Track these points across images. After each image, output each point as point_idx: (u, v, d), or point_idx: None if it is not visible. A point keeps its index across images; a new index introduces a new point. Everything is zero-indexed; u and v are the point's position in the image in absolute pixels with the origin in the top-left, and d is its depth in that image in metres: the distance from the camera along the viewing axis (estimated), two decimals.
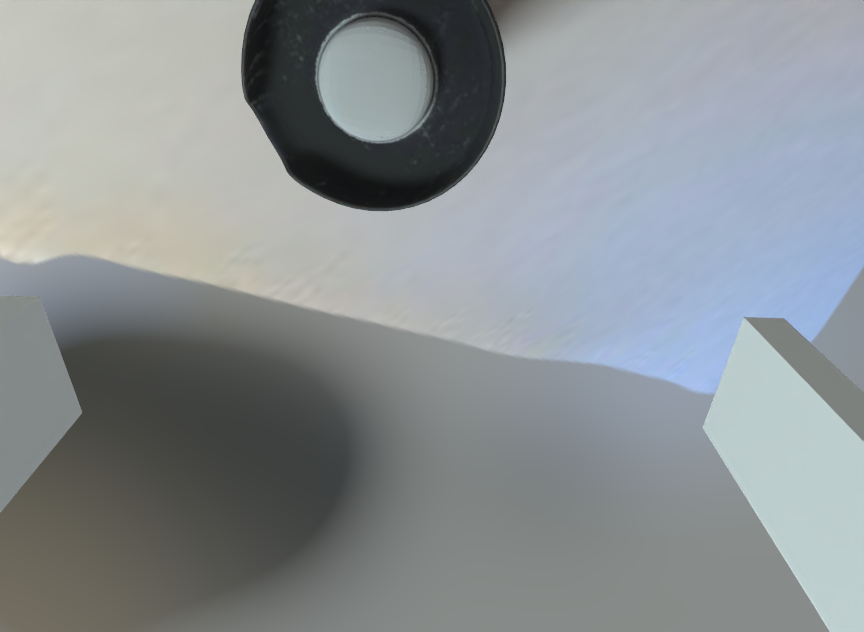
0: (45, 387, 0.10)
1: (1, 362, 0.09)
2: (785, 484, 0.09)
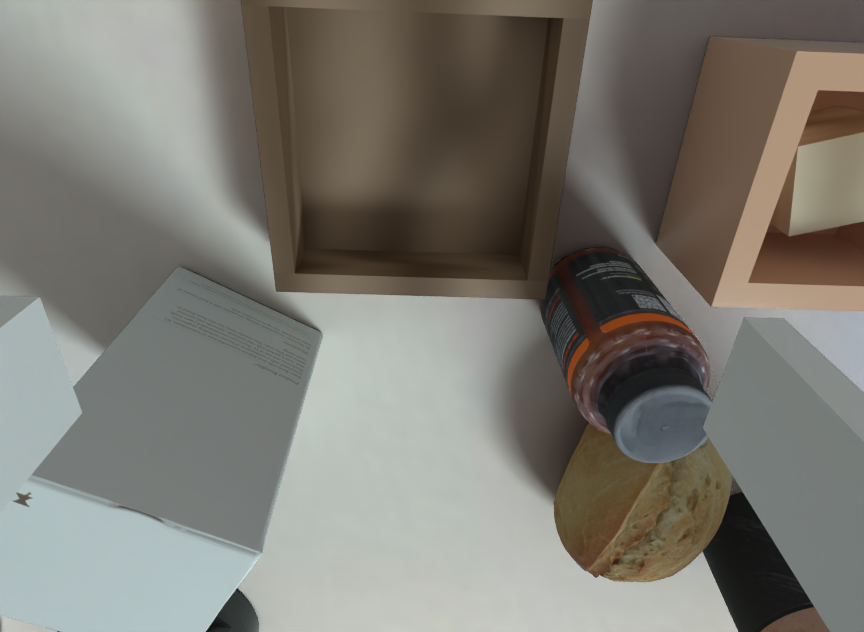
0: (45, 387, 0.10)
1: (1, 362, 0.09)
2: (784, 484, 0.09)
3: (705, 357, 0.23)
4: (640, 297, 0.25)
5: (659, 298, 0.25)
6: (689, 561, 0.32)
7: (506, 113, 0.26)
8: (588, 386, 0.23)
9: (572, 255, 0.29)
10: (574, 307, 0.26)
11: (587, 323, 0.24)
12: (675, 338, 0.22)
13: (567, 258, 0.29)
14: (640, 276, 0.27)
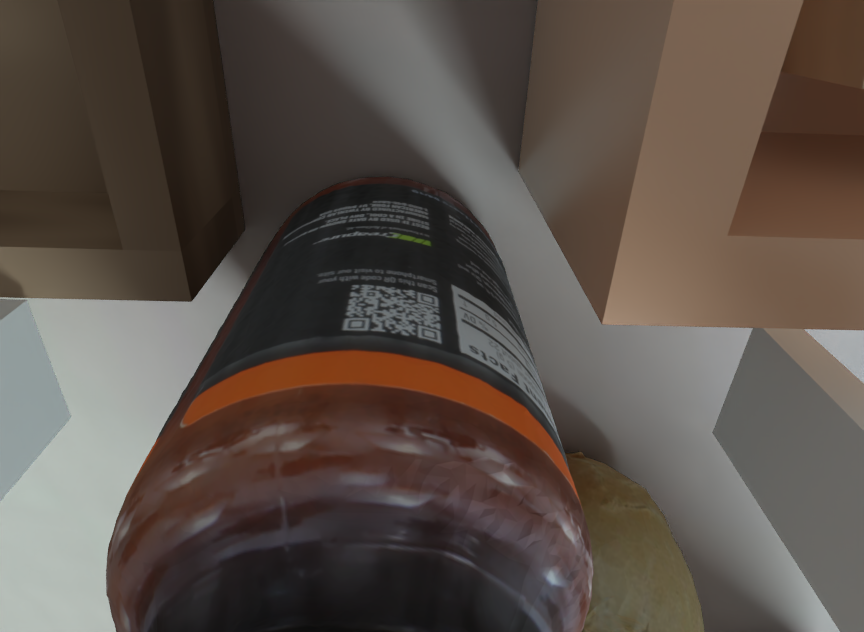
0: (33, 391, 0.10)
1: None
2: (799, 490, 0.09)
3: (563, 526, 0.06)
4: (376, 292, 0.07)
5: (453, 296, 0.08)
6: None
7: None
8: None
9: (315, 196, 0.12)
10: (225, 324, 0.09)
11: (196, 381, 0.07)
12: (415, 468, 0.05)
13: (304, 203, 0.12)
14: (437, 236, 0.10)
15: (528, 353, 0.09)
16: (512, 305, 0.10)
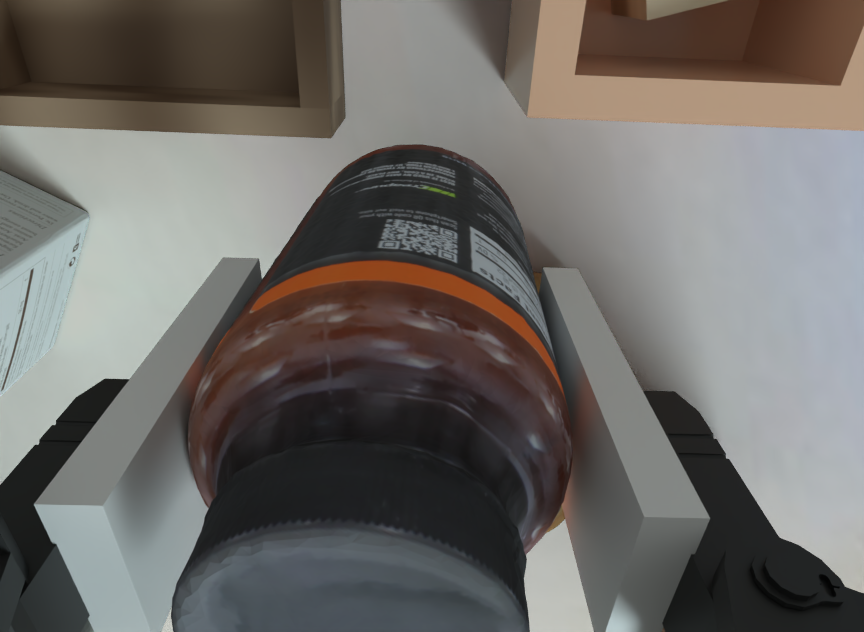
0: None
1: None
2: None
3: (545, 403, 0.07)
4: (406, 224, 0.09)
5: (470, 234, 0.10)
6: (560, 512, 0.24)
7: None
8: (200, 471, 0.08)
9: (357, 159, 0.14)
10: (280, 255, 0.11)
11: (258, 290, 0.09)
12: (429, 340, 0.07)
13: (347, 166, 0.14)
14: (461, 191, 0.11)
15: (533, 290, 0.10)
16: (524, 255, 0.12)
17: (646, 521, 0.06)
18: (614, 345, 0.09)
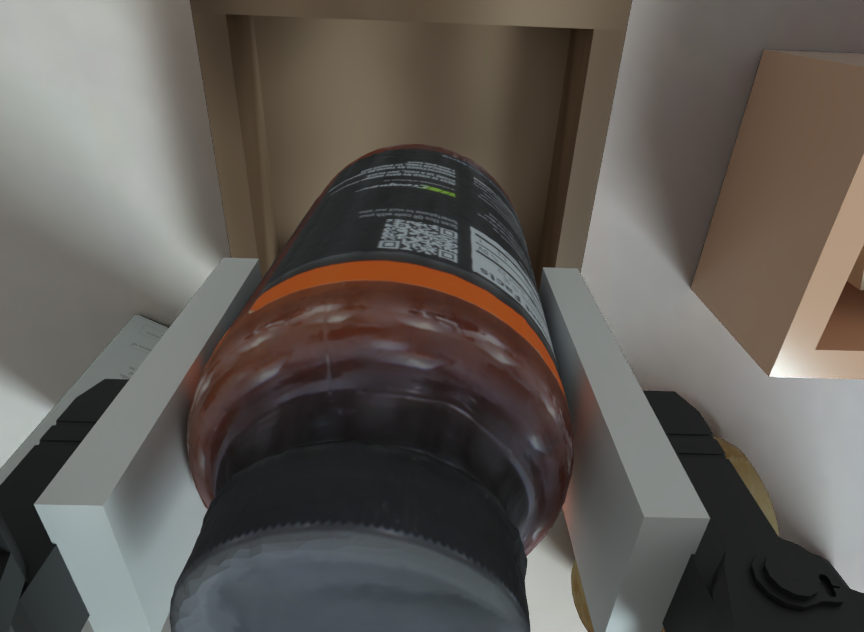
0: None
1: None
2: None
3: (546, 403, 0.07)
4: (407, 223, 0.09)
5: (471, 234, 0.09)
6: None
7: (519, 140, 0.22)
8: (200, 472, 0.08)
9: (357, 159, 0.14)
10: (279, 255, 0.11)
11: (258, 290, 0.09)
12: (430, 340, 0.07)
13: (347, 165, 0.14)
14: (461, 191, 0.11)
15: (534, 290, 0.10)
16: (525, 255, 0.12)
17: (646, 521, 0.06)
18: (614, 345, 0.09)
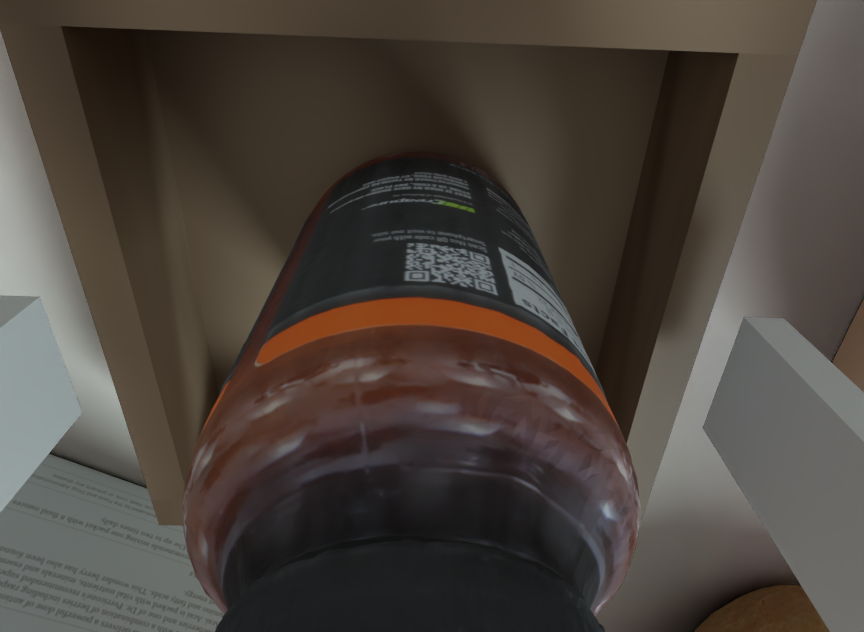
0: (45, 387, 0.10)
1: (1, 362, 0.09)
2: (784, 484, 0.09)
3: (617, 463, 0.06)
4: (432, 249, 0.08)
5: (502, 257, 0.08)
6: None
7: (574, 217, 0.14)
8: (201, 559, 0.06)
9: (354, 170, 0.13)
10: (278, 285, 0.09)
11: (259, 331, 0.08)
12: (486, 399, 0.06)
13: (342, 177, 0.13)
14: (479, 205, 0.10)
15: (569, 316, 0.09)
16: (549, 274, 0.11)
17: None
18: None
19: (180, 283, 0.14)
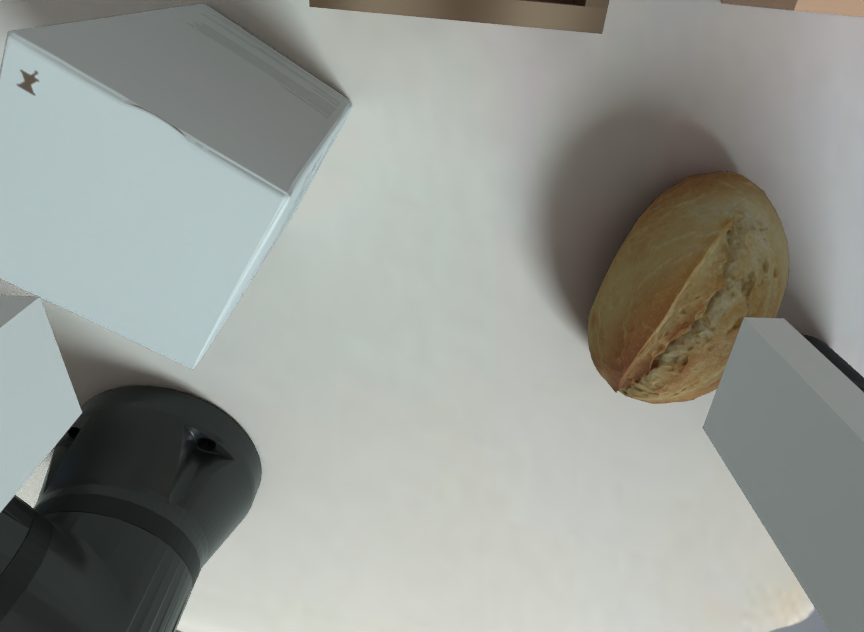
0: (45, 387, 0.10)
1: (1, 362, 0.09)
2: (784, 484, 0.09)
3: None
4: None
5: None
6: None
7: None
8: None
9: None
10: None
11: None
12: None
13: None
14: None
15: None
16: None
17: None
18: None
19: None
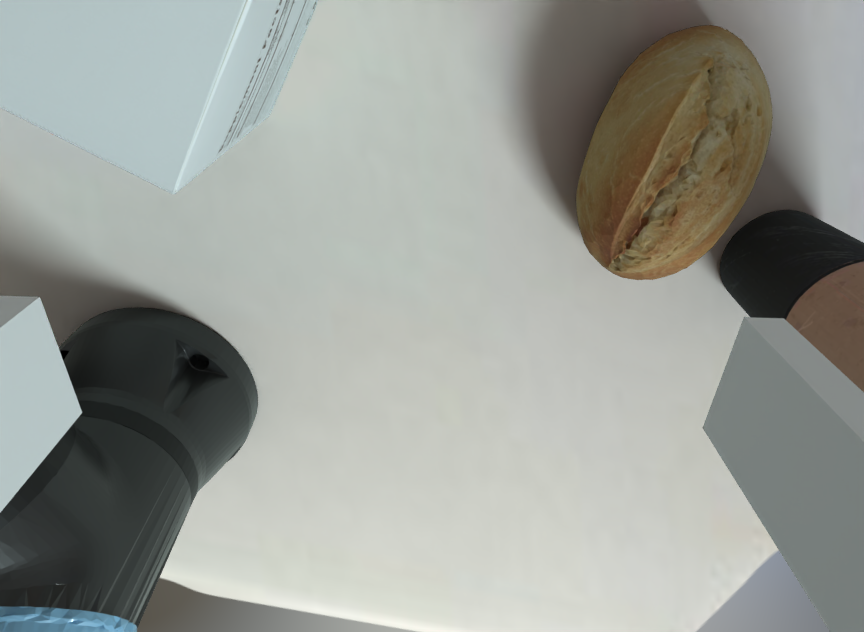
0: (45, 387, 0.10)
1: (1, 362, 0.09)
2: (784, 484, 0.09)
3: None
4: None
5: None
6: (724, 217, 0.30)
7: None
8: None
9: None
10: None
11: None
12: None
13: None
14: None
15: None
16: None
17: None
18: None
19: None
